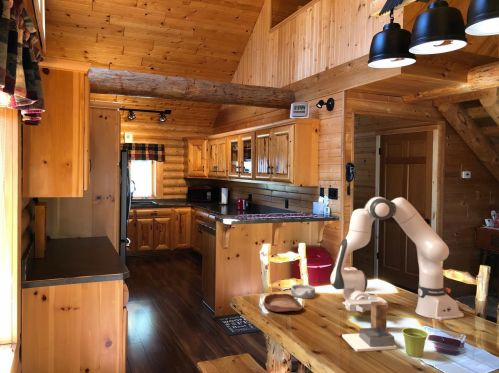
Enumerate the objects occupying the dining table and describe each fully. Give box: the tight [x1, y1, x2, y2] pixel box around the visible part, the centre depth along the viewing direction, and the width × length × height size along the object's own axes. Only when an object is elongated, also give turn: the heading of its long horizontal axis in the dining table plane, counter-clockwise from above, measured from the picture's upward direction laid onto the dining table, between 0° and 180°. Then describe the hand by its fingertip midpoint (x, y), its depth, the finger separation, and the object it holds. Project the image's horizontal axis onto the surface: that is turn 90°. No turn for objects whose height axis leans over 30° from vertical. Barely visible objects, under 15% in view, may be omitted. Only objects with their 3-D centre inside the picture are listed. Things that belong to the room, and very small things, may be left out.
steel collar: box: [358, 327, 395, 347], centre depth 169 cm, size 10×10×4 cm
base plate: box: [341, 333, 397, 353], centre depth 169 cm, size 17×15×1 cm
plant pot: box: [401, 327, 429, 358], centre depth 158 cm, size 9×9×9 cm
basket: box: [263, 293, 304, 313], centre depth 213 cm, size 22×20×5 cm
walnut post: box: [370, 301, 388, 331], centre depth 184 cm, size 5×5×12 cm
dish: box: [290, 283, 316, 299], centre depth 236 cm, size 14×14×5 cm
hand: (372, 310), depth 189 cm, fingers open, 8 cm apart
